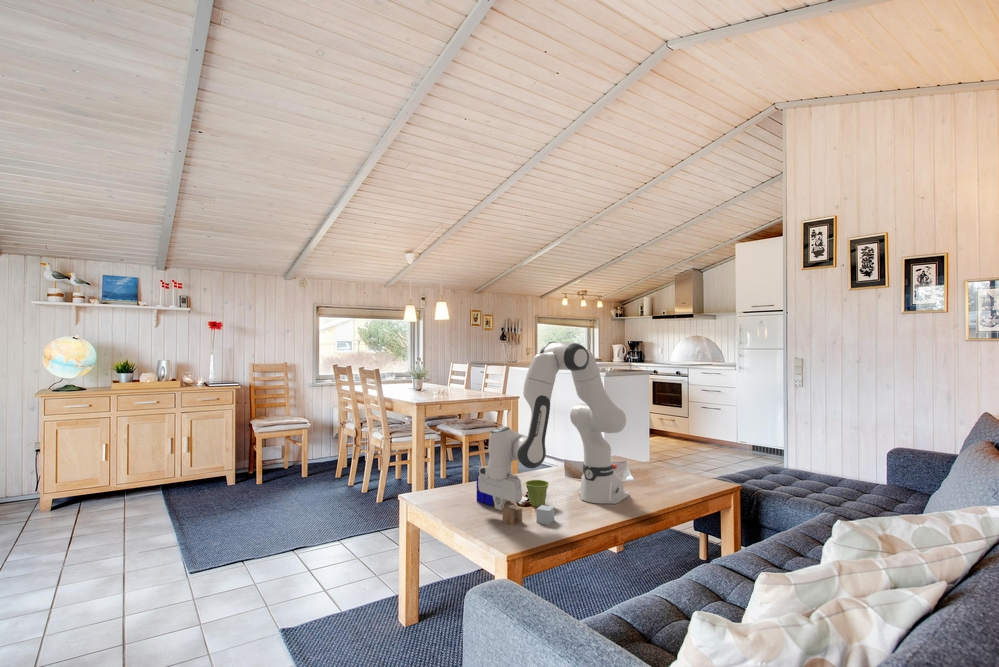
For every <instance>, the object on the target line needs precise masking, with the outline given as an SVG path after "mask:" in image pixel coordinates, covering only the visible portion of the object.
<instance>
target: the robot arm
mask: <svg viewBox="0 0 999 667" xmlns="http://www.w3.org/2000/svg"><path fill="white" fill-rule="evenodd" d="M527 370H528V371H527V374H526V376H525V380H524V384H523V393H522V394H523V397H524V399H525V401H526V402H527V404H528V405H529V408H530V411H531V417H530V423H529V428H528V434H527V435H524V434H521V433H519V432H516V431H514V430H513V429H511V427H508V426H499V427H496V428H493V429H492V430H491V431H490V433H489V438H488V450H487V451H488V456H489V458H488V462H487V465H484V466H481V467H479V468H478V474H479V475H478V477H479V479H478V488H479V491H480V492H483V493H486V494H489V495H492V496H493V500H494V502H495V506H494V508H495V509H497V510H500V511H503V508H504V507H505V504H506V503H505V502H506V500H508V501H510V502H511V503H519V502H521V501H522V500H523V492H522V491H523V490H522V489H523V488H522V482H521V481H522V480H521V479H520V478H519V477H518V475H514V474H512V473H513V461H517V462H518V463H520V464H522V466H524V467H525V468H527V469H536V468H538V467H539V466H541V465H542V464H543V462H544V461H545V458H546V454H547V452H546V451H547V449H546V435H547V430H548V425H549V424H548V423H549V418H550V412H551V402H552V401H551V399H552V394H553V389H554V386H555V382H556V376H557V374H558V372H559V371H560V370H561V371H570V372H571V376H572V381H573V384H574V387H575V388H574V389H575V391H576V395H577V397H578V398H579V399H580V400H581V401H582V402H583V403H578V404H575V405H573V407H572V408H571V410H570V414H569V416H570V418H569V419H570V422H571V423H572V425H573V426H574V427H575V428H576V429H577V432H578V433H579V435H580V438H581V441H582V446H583V463H582V473H583V474H582V475H581V480H580V481H581V482H580V490H579V491H578V495H579V499H581V500H582V501H585V502H588V503H591V504H592V503H593V504H612V505H613V504H614V505H615V504H618V503H620V502H621V501H623V500H624V499H626V498H628V497H629V496H630V493H629V492H628V491H627V490H624V482H623V480H622V479H621V478H620V477H618V475H616V474H615V471H614V470H617V469H618V465H617V464H615V463H612V448H611V444H610V443H609V442H608V441H607V440H606V439H605V438H604V436H603V434H602V433H606V434H615V433H617V434H618V433H621V432H622V431H624V429H625V427H626V424H627V417H626V413H625V412H624V411H623V410H622V409H621V408H620V407H619V406H617V405H616V404H615V403H614V401H613V400H612V399H611V398H610V396H609V395H608V393H607V391H606V389H605V387H604V384H603V380H602V377H601V373H600V370H599V365H598V364H597V361H596V358H595V357H594V354H593V353H592V352H591V350H588V349H586V347H585V346H583V345H582V344H580V343H576V342H569V341H549V342H547V343H545V344H544V345H543V346H542V348H541V349H540V351H539V353H537V354H536V355H534V357H533V359H532V360H531V363H530V365H529V368H528V369H527ZM499 498H500V501H501V502H499Z"/></svg>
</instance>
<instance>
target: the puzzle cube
mask: <svg viewBox="0 0 999 667" xmlns="http://www.w3.org/2000/svg"><path fill="white" fill-rule="evenodd" d="M478 479H479V476H477V477H476V502H478V503H480V504H483V505H486V506H490V507H492V508H495V502H494V500H493V496H492V495H489V494H486V493H483V492H480V491H479V488H478ZM499 502H501V501H500V498H499ZM506 502H507V503H509V502H508V500H506ZM506 502H505V504H506Z"/></svg>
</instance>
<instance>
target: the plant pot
mask: <svg viewBox="0 0 999 667" xmlns="http://www.w3.org/2000/svg"><path fill="white" fill-rule="evenodd" d="M524 485H526V489H527V495H528V502H529V501H530V503H529V505H530V504H531V505H530V506H531V507H535V508H536V507H537V508H538V507H540V506H541V505H545V506H546V499H547V498H546V497H547V490H548V487H549V485H550V483H549V481H548V480H547V481H546V480H542V479H531V480H527V481H525V483H524Z"/></svg>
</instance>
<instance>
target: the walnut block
mask: <svg viewBox="0 0 999 667" xmlns="http://www.w3.org/2000/svg"><path fill="white" fill-rule="evenodd" d="M502 522H503V523H505V524H507V525H511V526H514V525H517V524H519V523H522V522H523V508H522V507H520V506H516V505H514V504H511V505H508V506H504V508H503V510H502Z"/></svg>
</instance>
